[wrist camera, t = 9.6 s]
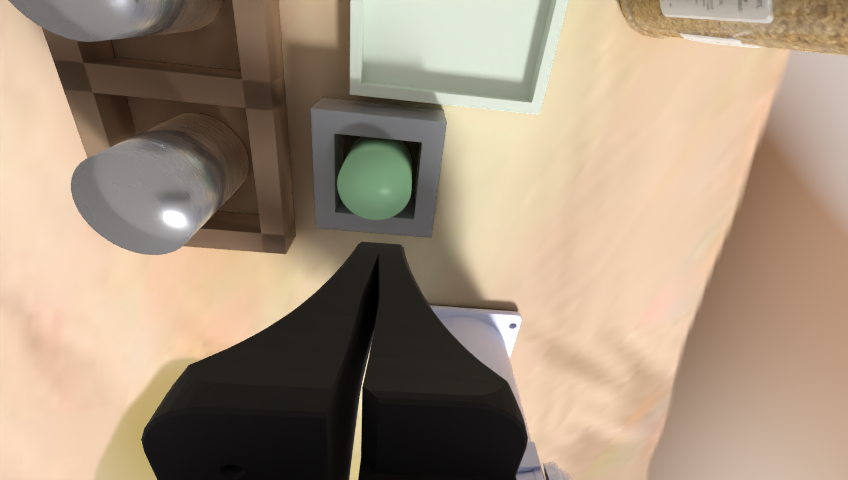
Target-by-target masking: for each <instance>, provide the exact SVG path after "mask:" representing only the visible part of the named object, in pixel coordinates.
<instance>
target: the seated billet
mask: <svg viewBox="0 0 848 480" xmlns="http://www.w3.org/2000/svg"><path fill="white" fill-rule="evenodd" d="M248 170H249V161H248V156H247V152H246V150H245V147H244V146H243V144H242V142H241V140H240V139H239V138H238V136H237V135H236V134H235V133H234V132H233V131H232V130H231V129H230V128H229V127H228V126H226V125H225V124H224V123H222V122H221V121H219V120H217V119H215V118H213V117H210V116H208V115H204V114H199V113H185V114H181V115H178V116H175V117H173V118H171V119H169V120H167V121H165V122H163V123H161V124H159V125H156V126H154V127H152V128H150V129H148V130H146V131H144V132H142V133H140V134H138V135H135V136H133V137H131V138H129V139H127V140H125V141H123V142H121V143H119V144H116V145H114V146H112V147H110V148H108V149H106V150H104V151H102V152H100V153H97V154H95V155H93V156H91V157H89V158H87V159H85V160H84V161H83V162H81V163H80V164H79V165H78V166H77V168H76V169H75V171H74V173H73V176H72V181H71V192H72V196H73V200H74V202H75V205H76V207H77V209H78V211H79V212H80V214H81V215H82V217H83V218H84V219H85V221H86V222H87V223H88V224H89V225H90V226H91V227H92V228H93V229H94V230H95V231H96V232H97V233H99V234H100V235H101V236H102V237H104V238H105V239H107V240H108V241H110V242H112V243H113V244H115V245H117V246H119V247H121V248H124V249H127V250H129V251H133V252H136V253H141V254H148V255H160V254H167V253H171V252H173V251H176V250H178V249H179V248H181V247H182V246H183V245H184V244H186V243H187V242H188V240H189V239H190V238H191V237H192V236H193V235H194V234H195V233H196V232H197V231H198V230H199V229H200V228H201V227H202V226H203V225H204V224H205V223H206V222H207V221H208V220H209V219H210V218H211V217H212V216H213V214H214V213H215V212H216V211H217V210H218V209H219V208H220V207H221V206H222V205H223V204H224V203H225V202H226V201H227V200H228V199H229V198H230V197H231V196H232V195H233V194H234V193H235V192H236V191H237V190H238V188H239V187H240V186H241V185H242V184H243V183H244V181H245V180H246V177H247V175H248Z"/></svg>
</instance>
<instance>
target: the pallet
mask: <svg viewBox="0 0 848 480" xmlns="http://www.w3.org/2000/svg"><path fill="white" fill-rule="evenodd" d="M232 4H233V12H234V19H235V27H236V35H237V43H238V51H239V59H240V67H241V71H236V70H226V69H217V68H208V67H199V66H190V65H180V64H171V63H162V62H153V61H143V60H134V59H125V58H116V57H115V55H114V52H113V48H112V44H111V41H110V40H104V41H92V42H85V41H77V40H72V39H68V38H65V37H62V36H59V35H57V34H55V33H52V32H50V31H48V30H46V29H45V28H43V27H42V29H43V32H44V35H45V38H46V40H47V43H48V46H49V49H50V52H51V55H52V58H53V60H54V63H55V66H56V69H57V72H58V75H59V78H60V80H61V83H62V86H63V89H64V92H65V95H66V98H67V100H68V103H69V106H70V109H71V112H72V115H73V118H74V120H75V123H76V126H77V129H78V132H79V135H80V138H81V140H82V143H83V146H84V149H85V152H86V155H87V158H89V157H91V156H93V155H95V154H97V153H100V152H102V151H104V150H106V149H108V148H110V147H112V146H114V145H116V144H119V143H121V142H123V141H125V140H127V139H129V138H131V137H133V136H135V135H136V132H135V128H134V124H133V121H132V117H131V113H130V110H129V106H128V103H127V99H126V96H131V97H141V98H151V99H161V100H171V101H180V102H190V103H200V104H210V105H219V106H229V107H239V108H246V115H247V123H248V131H249V139H250V147H251V155H252V163H253V171H254V179H255V187H256V195H257V203H258V210H259V215H253V214H242V213H230V212H218V211H216V212H215V213H214V214H213V216H212V217H211V218H210V219H209V220H208V221H207V222H206V223H205V224H204V225H203V226H202V227H201V228H200V229H199V230H198V231H197V232H196V233H195V234H194V235H193V236H192V237H191V238H190V239H189V240H188V242H187V243H186V244H184V245H183V246H189V247H202V248H215V249H227V250H240V251H253V252H266V253H279V254H286V253H287V251H288V249H289V248H290V246H291V244H292V242H293V240H294V238H295V236H296V233H295V219H294V205H293V192H292V178H291V165H290V151H289V138H288V124H287V110H286V97H285V83H284V70H283V56H282V42H281V29H280V15H279V2H278V0H232Z"/></svg>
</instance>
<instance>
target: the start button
mask: <svg viewBox="0 0 848 480" xmlns="http://www.w3.org/2000/svg"><path fill="white" fill-rule="evenodd" d="M337 187H338V192H339V195H340V198H341V200H342V202H343V203H344V204H345V206H346V207H347V208H348V209H349V210H350V211H352V212H353V213H354V214H356V215H358V216H360V217H362V218H366V219H370V220H383V219H388V218H391V217H393V216H395V215H396V214H398V213H399V212H401V211H402V210H403V209H404V208H405V206H406V205H407V203H408V201H409V199H410V196H411V191H412V158H411V155H410V152H409V150H408V149H407V147H406V146H405V144H404V143H403V142H402V141H400V140H393V139H383V138H373V137H363V136H362V137H360V138H359V139H358V140H357V141H356V142H355V143H354V144H353V145H352V147H351V149H350V151H349V153H348V155H347V157H346V159H345V161H344V163H343V166H342V168H341V170H340V172H339V175H338V180H337Z"/></svg>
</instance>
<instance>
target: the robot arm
mask: <svg viewBox="0 0 848 480" xmlns="http://www.w3.org/2000/svg"><path fill="white" fill-rule="evenodd" d="M521 321H522V318H521V315H520V313H518V312H515V311H502V310H488V309H474V308H460V307H446V306H431V305H429V304H428V302H427V301H426V299H425V297H424V296H423V294H422V292H421V291H420V289H419V287H418V285H417V283H416V281H415V279H414V277H413V275H412V273H411V270H410V268H409V265H408V263H407V260H406V257H405V253H404V248H403V247H402V246H401V245H399V244H385V243H371V242H361V243H360V244H358V246H357V247H356V249H355V250H354V251H353V253H352V254H351V255H350V256H349V258H348V259H347V260H346V261H345V263H344V264H343V265H342V266H341V267H340V268H339V269H338V270H337V272H336V273H335V274H334V275H333V276H332V277H331V278H330V279H329V280H328V281H327V282H326V283H325V284H324V285H323V286H322V287H321V288H320V289H319V290H318V291H317V292H316V293H314V294H313V295H312V296H311V297H310V298H309V299H307V300H306V301H305V302H304V303H303V304H301V305H300V306H299V307H297V308H296V309H295V310H293V311H292V312H291V313H289V314H288V315H286V316H285V317H283V318H282V319H280V320H279V321H277V322H276V323H274V324H273V325H271V326H269V327H268V328H266V329H264V330H263V331H261V332H259V333H257V334H255V335H254V336H252V337H250V338H248V339H246V340H244V341H242V342H240V343H238V344H236V345H234V346H232V347H230V348H228V349H226V350H223V351H221V352H219V353H216V354H214V355H212V356H209V357H207V358H205V359H203V360H200V361H198V362H195V363H193V364H190V365H189V366H188V367H187V368H186V370H185V371H184V372H183V373H182V375H181V376H180V377H179V378H178V379H177V381H176V382H175V383H174V385H173V386H172V387H171V389H170V390H169V392H168V393H167V394H166V396H165V398H164V399H163V401H162V402H161V404H160V405H159V407H158V408H157V410H156V411H155V413H154V415H153V416H152V418H151V419H150V421H149V422H148V424H147V426H146V427H145V428H144V432H143V436H142V439H141V440H142V444H143V448H144V452H145V454H146V456H147V458H148V460H149V463H150V465H151V467H152V469H153V471H154V473H155V475H156V477H157V480H349V476H350V467H351V459H352V451H353V443H354V435H355V427H356V419H357V411H358V404H359V396H360V391H361V385H362V380H363V376H364V372H365V367H366V363H367V359H368V354H369V350H370V346H371V350H370V355H369V360H368V365H367V369H366V374H365V379H364V383H363V393H362V441H361V462H360V470H359V479H358V480H545V479H544V475H543V472H542V469H541V465H540V461H539V458H538V454H537V450H536V447H535V443H534V442H531V438H530V434H529V431H528V427H527V423H526V419H525V416H524V412H523V408H522V404H521V400H520V397H519V393H518V389H517V385H516V382H515V378H514V374H513V370H512V366H511V363H510V356H511V353H512V350H513V347H514V344H515V340H516V337H517V334H518V331H519V328H520V324H521ZM512 323H515V324H513V325H510V324H512ZM373 332H374V334H373ZM372 337H373V339H372ZM371 341H372V345H371ZM543 465H544V471H545V476H546V480H572V479H571V477H570V475H569V474H568V473H566V472H565V471H564V470H562V469H561V468H559V467H558V465H557V464H556V463H555V462H549V463H544V464H543Z"/></svg>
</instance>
